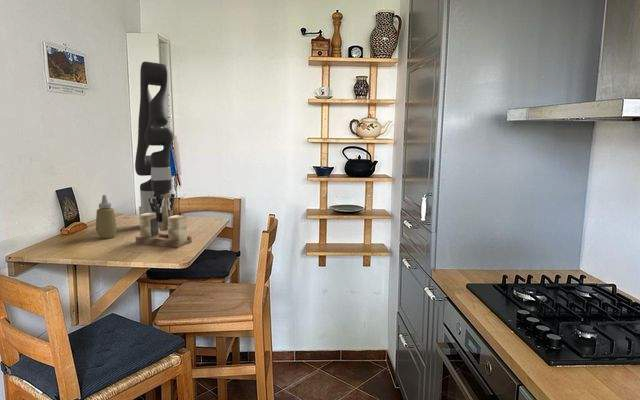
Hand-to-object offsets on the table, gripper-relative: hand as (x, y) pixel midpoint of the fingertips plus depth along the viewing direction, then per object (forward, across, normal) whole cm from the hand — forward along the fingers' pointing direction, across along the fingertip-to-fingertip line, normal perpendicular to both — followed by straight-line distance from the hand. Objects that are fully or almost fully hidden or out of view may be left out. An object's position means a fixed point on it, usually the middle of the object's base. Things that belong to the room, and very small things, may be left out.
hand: (163, 220), depth 176 cm
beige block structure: (+9, 0, 0) cm, 9 cm away
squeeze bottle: (+9, +1, -28) cm, 29 cm away
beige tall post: (+4, 0, 0) cm, 4 cm away
